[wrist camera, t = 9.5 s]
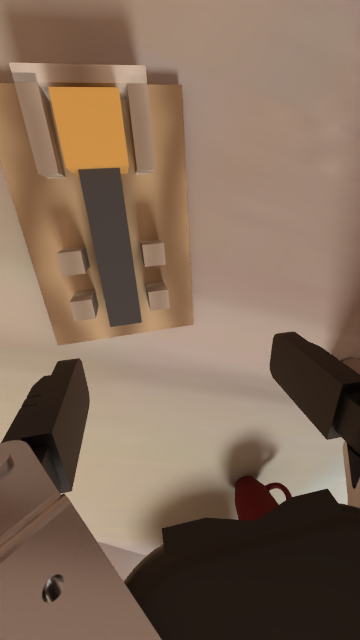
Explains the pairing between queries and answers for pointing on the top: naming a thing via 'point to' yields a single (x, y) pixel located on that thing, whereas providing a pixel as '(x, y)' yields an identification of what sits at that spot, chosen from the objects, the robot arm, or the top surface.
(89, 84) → the board
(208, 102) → the top surface
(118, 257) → the grey and orange bar
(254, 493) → the mug
